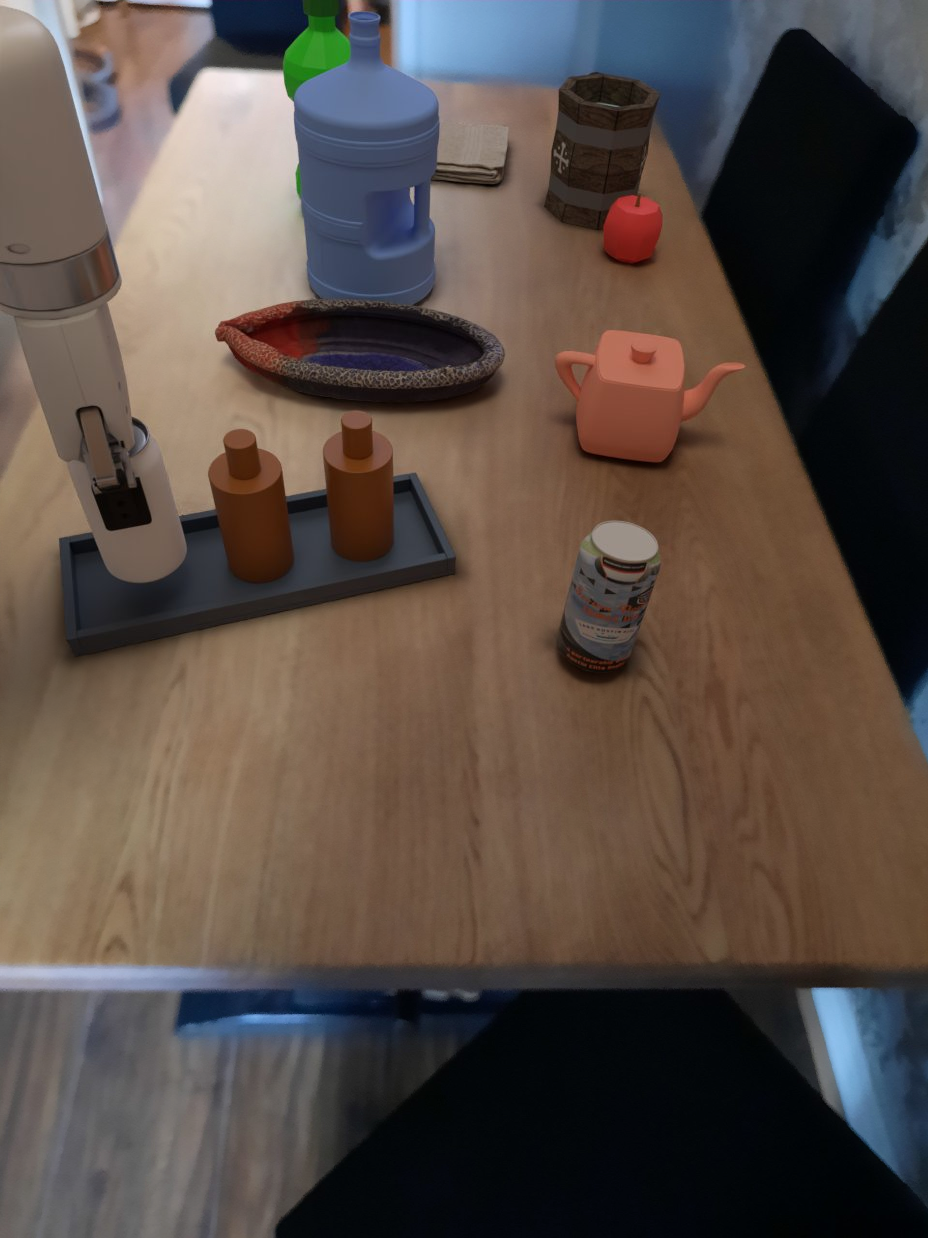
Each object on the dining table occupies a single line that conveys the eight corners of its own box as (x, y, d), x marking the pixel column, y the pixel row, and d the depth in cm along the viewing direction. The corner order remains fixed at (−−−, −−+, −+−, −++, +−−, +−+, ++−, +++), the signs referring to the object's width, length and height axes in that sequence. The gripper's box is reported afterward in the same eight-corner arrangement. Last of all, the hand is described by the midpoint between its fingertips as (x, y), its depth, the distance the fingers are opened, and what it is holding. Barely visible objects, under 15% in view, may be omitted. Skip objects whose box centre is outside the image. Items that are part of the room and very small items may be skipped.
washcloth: (422, 181, 125) (423, 159, 123) (434, 134, 137) (435, 113, 135) (503, 189, 125) (505, 167, 123) (508, 140, 137) (510, 119, 135)
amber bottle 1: (234, 589, 71) (207, 468, 62) (223, 544, 75) (195, 422, 65) (300, 575, 73) (284, 455, 63) (286, 531, 76) (269, 410, 66)
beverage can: (548, 674, 68) (571, 570, 59) (563, 607, 73) (586, 502, 64) (626, 692, 68) (661, 590, 58) (636, 623, 72) (670, 519, 63)
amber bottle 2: (339, 567, 74) (329, 447, 64) (324, 524, 77) (312, 403, 67) (401, 554, 75) (401, 435, 65) (384, 512, 78) (381, 392, 69)
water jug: (287, 300, 102) (256, 25, 81) (337, 242, 112) (322, -16, 91) (410, 327, 100) (412, 51, 79) (450, 266, 110) (462, 6, 88)
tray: (74, 657, 67) (66, 640, 65) (66, 555, 74) (58, 537, 72) (455, 573, 75) (456, 556, 73) (415, 488, 82) (416, 471, 80)
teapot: (550, 389, 93) (564, 301, 85) (715, 412, 92) (744, 325, 84) (540, 455, 86) (554, 364, 78) (719, 481, 85) (752, 392, 77)
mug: (645, 230, 119) (671, 113, 108) (549, 227, 118) (565, 108, 107) (621, 171, 132) (642, 59, 120) (534, 167, 131) (547, 55, 119)
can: (165, 518, 72) (130, 399, 63) (202, 562, 69) (171, 444, 60) (91, 551, 69) (44, 431, 60) (127, 598, 66) (82, 480, 57)
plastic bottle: (362, 232, 114) (354, 10, 95) (285, 222, 115) (262, -1, 96) (378, 199, 121) (374, -14, 102) (306, 190, 122) (288, -24, 102)
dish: (495, 429, 88) (500, 387, 85) (203, 396, 89) (195, 354, 85) (506, 346, 98) (511, 306, 95) (244, 318, 99) (237, 277, 95)
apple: (638, 276, 111) (651, 214, 105) (586, 255, 114) (596, 193, 108) (667, 254, 115) (682, 193, 109) (616, 234, 118) (628, 174, 112)
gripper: (-19, 204, 55) (65, 431, 68) (-21, 353, 44) (79, 585, 58) (103, 193, 57) (162, 416, 70) (129, 333, 46) (192, 562, 60)
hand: (124, 491), depth 64 cm, fingers closed on can, 6 cm apart
